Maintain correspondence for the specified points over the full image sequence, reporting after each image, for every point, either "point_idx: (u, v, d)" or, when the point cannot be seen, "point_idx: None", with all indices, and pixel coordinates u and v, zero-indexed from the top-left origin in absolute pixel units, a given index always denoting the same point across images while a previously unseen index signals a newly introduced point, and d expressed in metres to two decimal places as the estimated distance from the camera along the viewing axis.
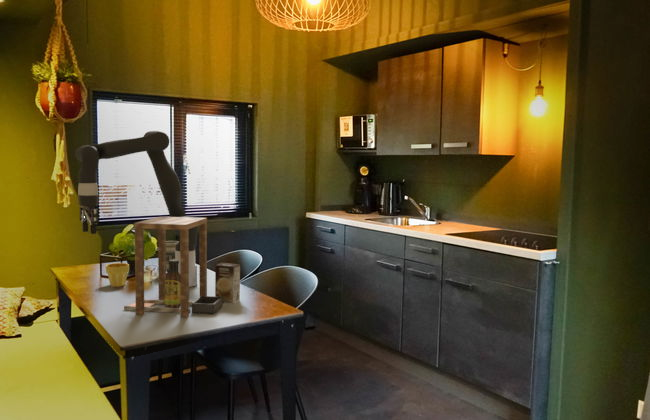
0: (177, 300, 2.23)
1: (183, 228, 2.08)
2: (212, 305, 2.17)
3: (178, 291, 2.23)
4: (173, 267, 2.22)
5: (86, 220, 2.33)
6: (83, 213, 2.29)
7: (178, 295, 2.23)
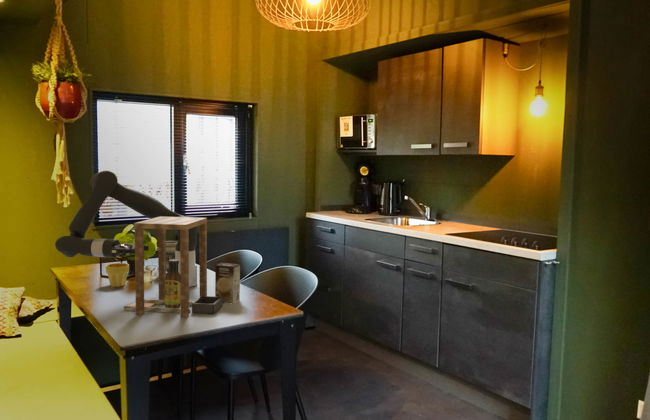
0: (177, 300, 2.23)
1: (183, 228, 2.08)
2: (212, 305, 2.17)
3: (178, 291, 2.23)
4: (173, 267, 2.22)
5: None
6: None
7: (178, 295, 2.23)
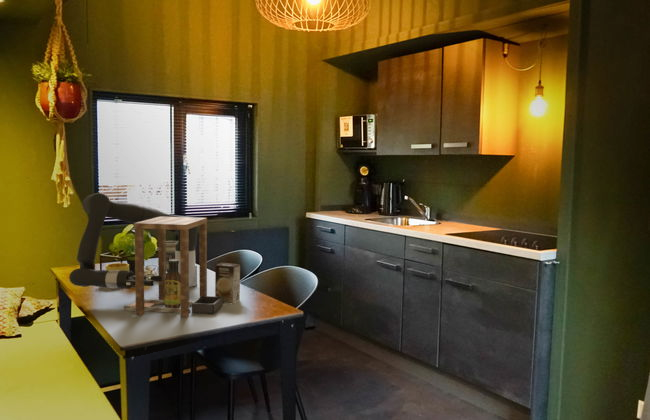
0: (177, 300, 2.23)
1: (183, 228, 2.08)
2: (212, 305, 2.17)
3: (178, 291, 2.23)
4: (173, 267, 2.22)
5: None
6: None
7: (178, 295, 2.23)
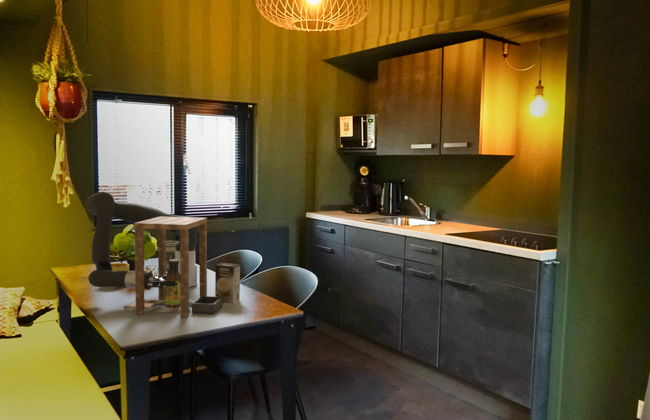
0: (177, 300, 2.23)
1: (183, 228, 2.08)
2: (212, 305, 2.17)
3: (178, 291, 2.23)
4: (173, 267, 2.21)
5: None
6: None
7: (178, 295, 2.23)
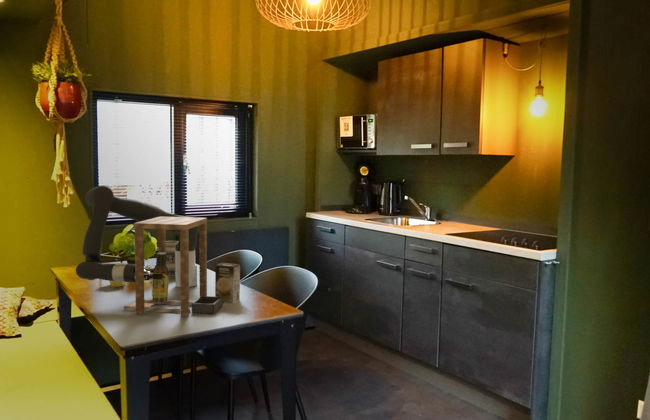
0: (164, 293, 2.23)
1: (183, 228, 2.08)
2: (212, 305, 2.17)
3: (165, 284, 2.23)
4: (161, 260, 2.22)
5: None
6: None
7: (165, 288, 2.23)
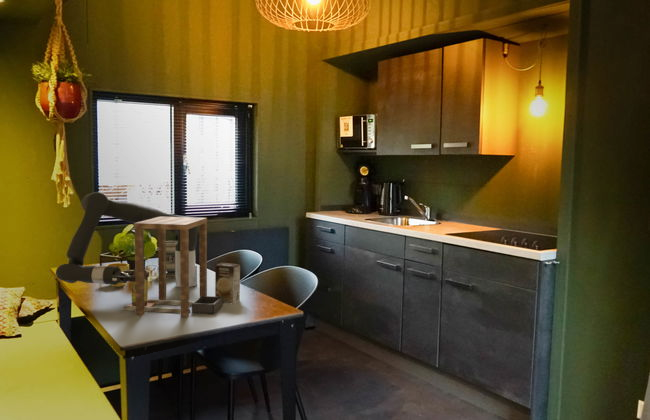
0: None
1: (183, 228, 2.08)
2: (212, 305, 2.17)
3: (145, 289, 2.24)
4: None
5: None
6: None
7: (145, 292, 2.24)
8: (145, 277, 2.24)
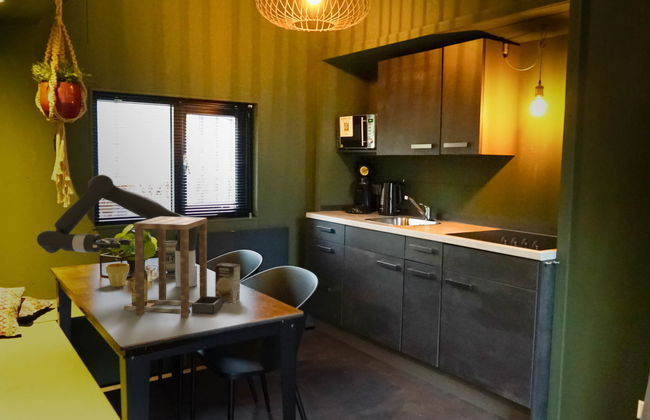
0: None
1: (183, 228, 2.08)
2: (212, 305, 2.17)
3: (144, 289, 2.24)
4: None
5: None
6: None
7: (144, 293, 2.24)
8: (145, 277, 2.24)
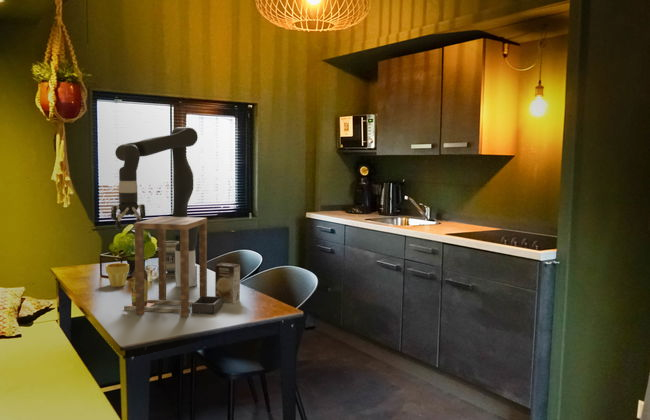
0: None
1: (183, 228, 2.08)
2: (212, 305, 2.17)
3: (144, 289, 2.24)
4: None
5: None
6: None
7: (144, 293, 2.24)
8: (145, 277, 2.24)
